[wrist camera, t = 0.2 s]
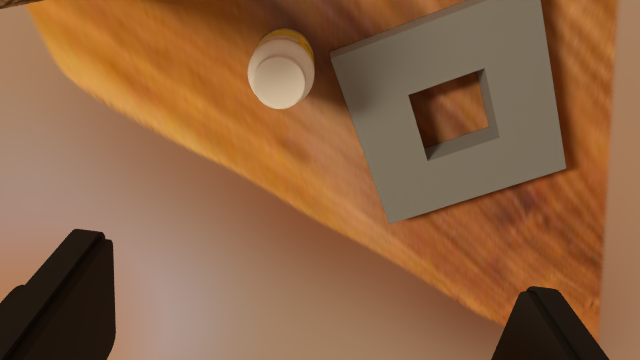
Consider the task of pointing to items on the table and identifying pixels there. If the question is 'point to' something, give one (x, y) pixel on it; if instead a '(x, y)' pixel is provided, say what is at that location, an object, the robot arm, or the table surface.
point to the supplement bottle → (282, 68)
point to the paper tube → (15, 3)
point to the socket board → (441, 66)
